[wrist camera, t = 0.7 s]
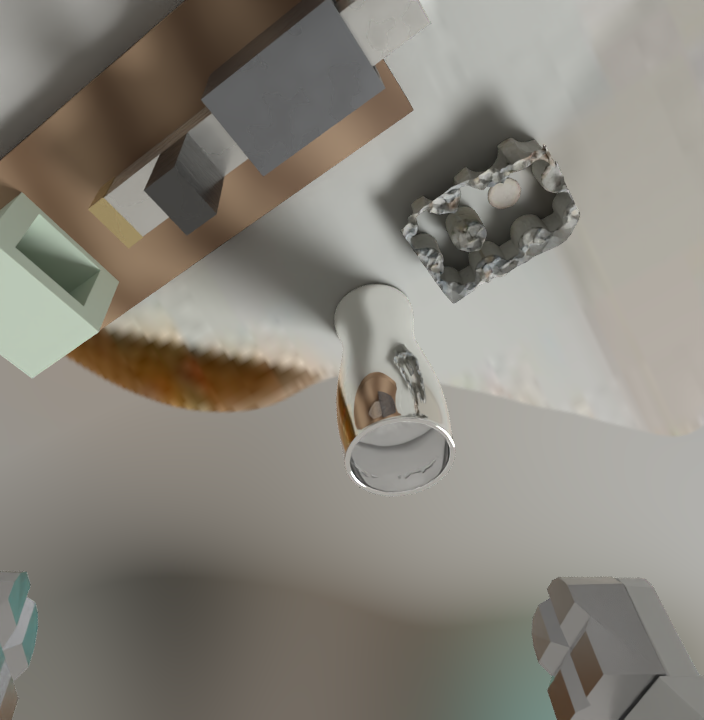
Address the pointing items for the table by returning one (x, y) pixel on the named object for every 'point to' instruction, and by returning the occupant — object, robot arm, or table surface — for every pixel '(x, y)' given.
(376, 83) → the sleeve
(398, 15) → the light grey bar piece
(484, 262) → the egg carton
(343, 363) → the beer glass
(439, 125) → the table surface
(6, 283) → the socket
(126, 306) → the base board
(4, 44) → the table surface
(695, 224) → the table surface
